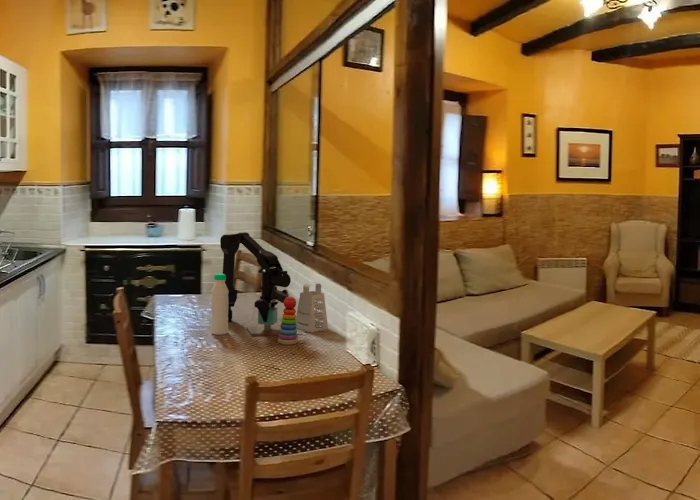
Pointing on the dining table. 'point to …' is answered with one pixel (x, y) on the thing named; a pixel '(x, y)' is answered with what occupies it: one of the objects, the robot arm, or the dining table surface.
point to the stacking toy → (288, 323)
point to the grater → (311, 309)
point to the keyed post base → (264, 330)
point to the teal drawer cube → (269, 317)
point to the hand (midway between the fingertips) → (267, 320)
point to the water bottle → (219, 306)
